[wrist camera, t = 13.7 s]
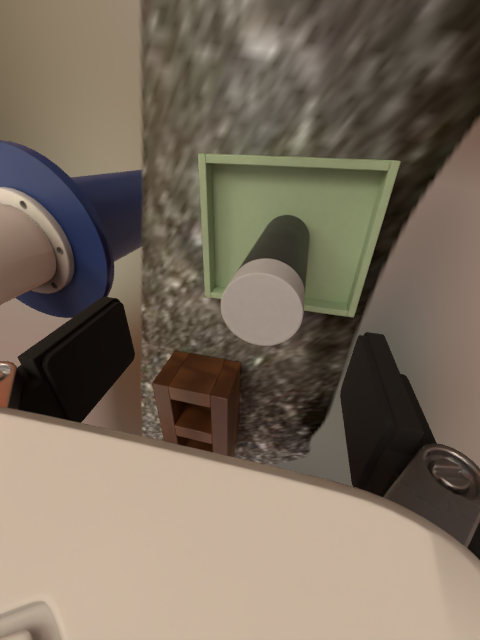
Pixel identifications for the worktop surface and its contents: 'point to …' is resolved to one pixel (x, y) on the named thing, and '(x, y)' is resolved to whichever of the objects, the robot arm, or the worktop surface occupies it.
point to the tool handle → (270, 285)
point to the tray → (300, 201)
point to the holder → (199, 402)
